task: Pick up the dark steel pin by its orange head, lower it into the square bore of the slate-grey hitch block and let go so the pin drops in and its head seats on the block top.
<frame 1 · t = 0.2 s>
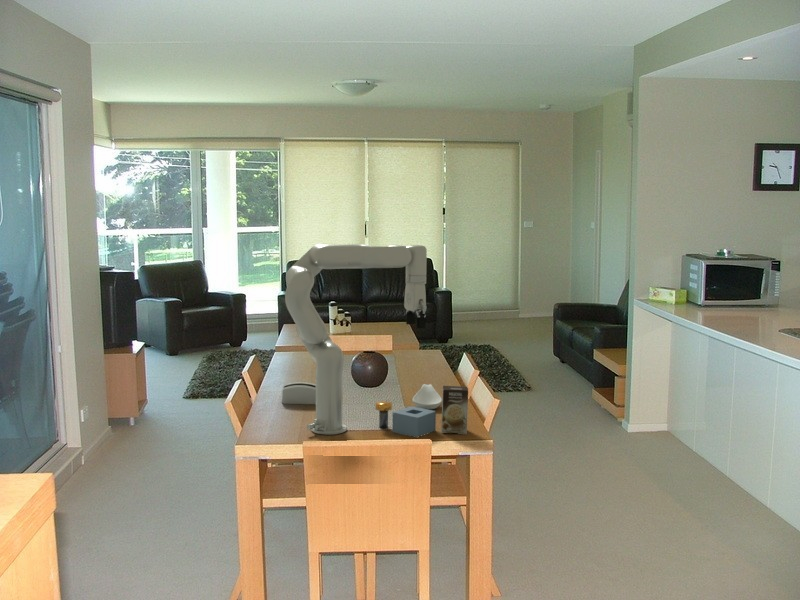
hand: (415, 326, 283), 36 cm above the table, tool pointing down, fingers open, 9 cm apart
spoon rest: (426, 405, 315), on the table
coffee box: (454, 432, 277), on the table
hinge: (302, 404, 314), on the table
pin: (383, 427, 281), on the table
hitch block: (414, 431, 277), on the table
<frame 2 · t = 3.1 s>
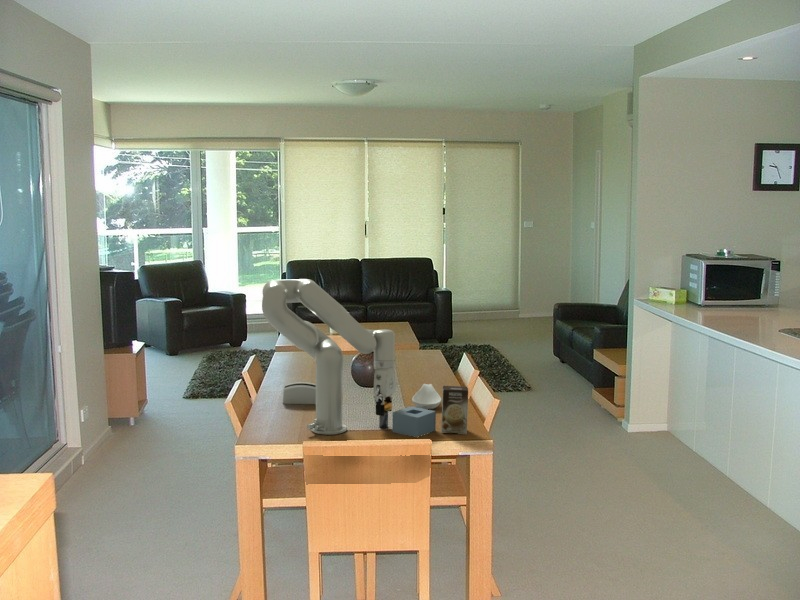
hand: (383, 412, 280), 6 cm above the table, tool pointing down, fingers closed on pin, 6 cm apart
pin: (383, 427, 281), on the table, touching gripper
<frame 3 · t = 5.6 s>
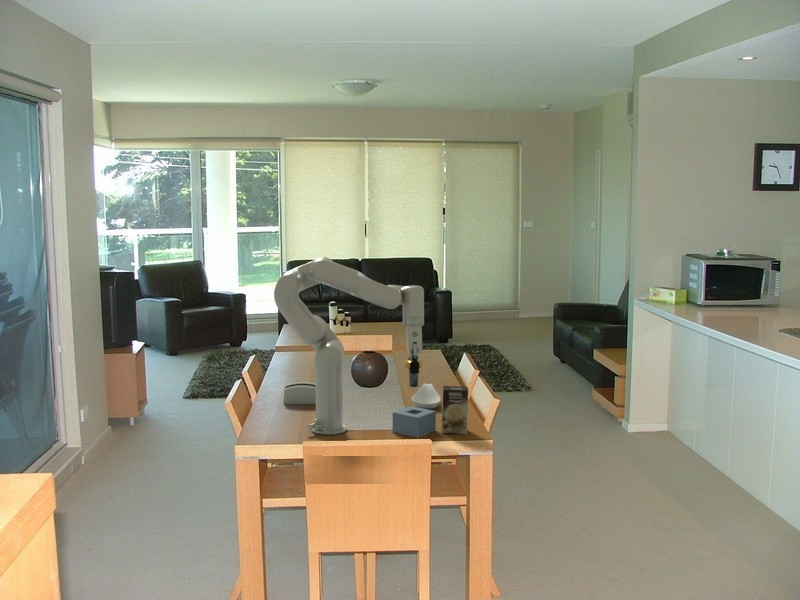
hand: (413, 370, 274), 22 cm above the table, tool pointing down, fingers closed on pin, 6 cm apart
pin: (413, 386, 275), point 16 cm above the table, touching gripper
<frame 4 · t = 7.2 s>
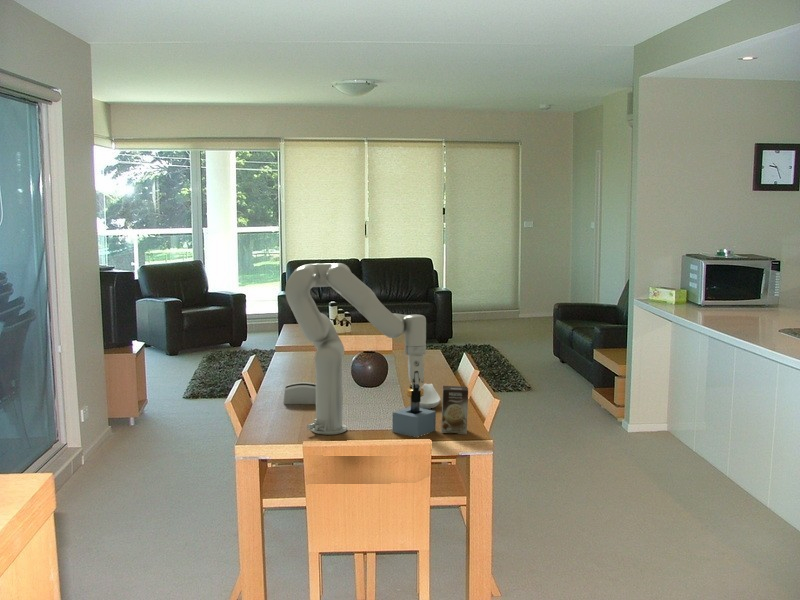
hand: (415, 399, 275), 12 cm above the table, tool pointing down, fingers closed on pin, 6 cm apart
pin: (415, 414, 276), point 6 cm above the table, touching gripper
when the fingers open (9 cm above the table, at t = 8.2 s): pin drops 3 cm, resting on hitch block.
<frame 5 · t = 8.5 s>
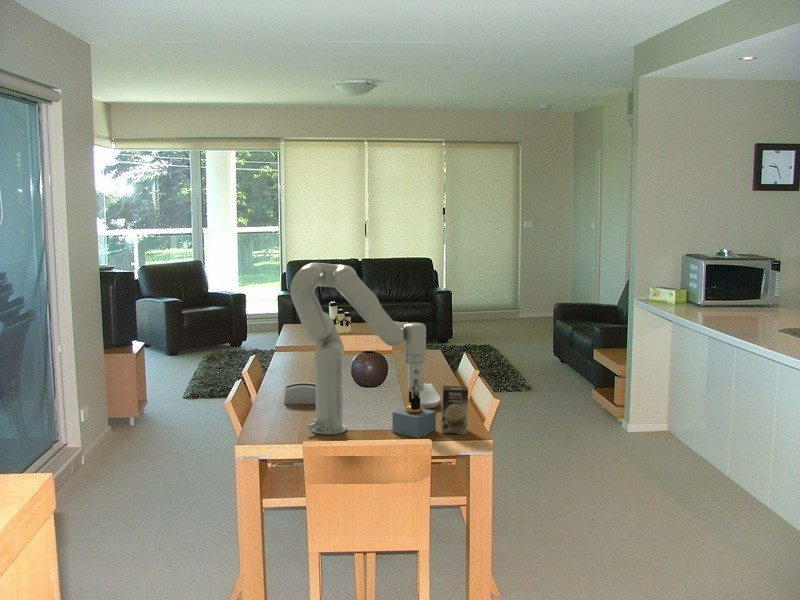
hand: (414, 405, 275), 9 cm above the table, tool pointing down, fingers open, 8 cm apart
pin: (414, 430, 277), resting on hitch block
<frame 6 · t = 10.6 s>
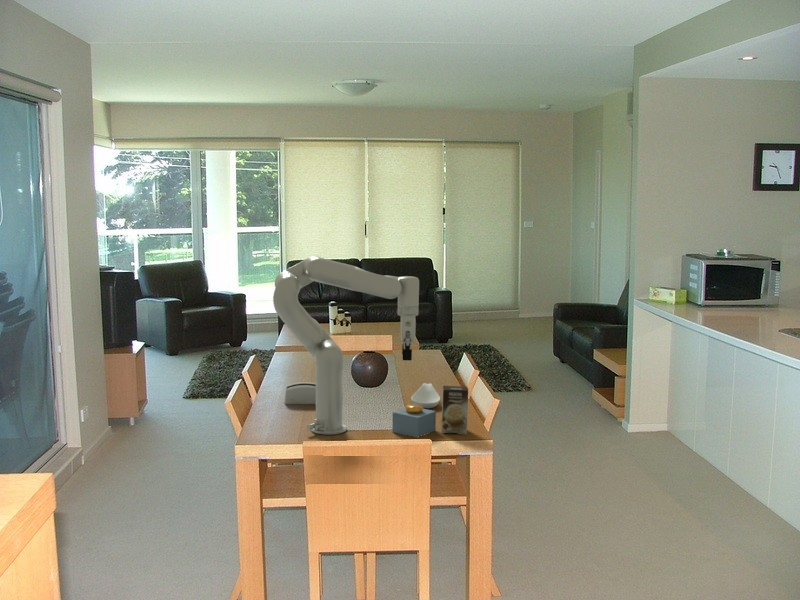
hand: (406, 357, 280), 25 cm above the table, tool pointing down, fingers open, 9 cm apart
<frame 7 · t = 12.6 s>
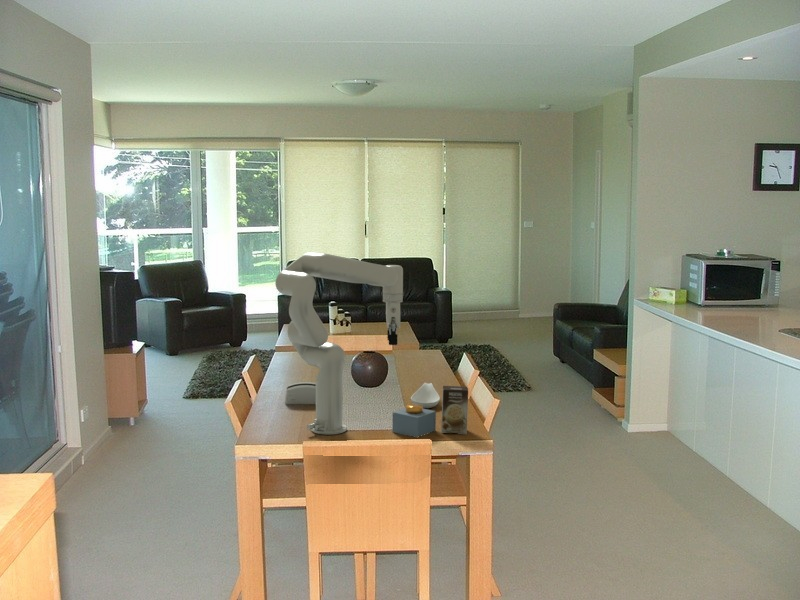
hand: (392, 342, 294), 28 cm above the table, tool pointing down, fingers open, 9 cm apart
at the end: pin 0.0 cm off-centre on the hitch block, point 0.2 cm above the hitch block's base; pin tilted 0°; the gripper is holding nothing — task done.
